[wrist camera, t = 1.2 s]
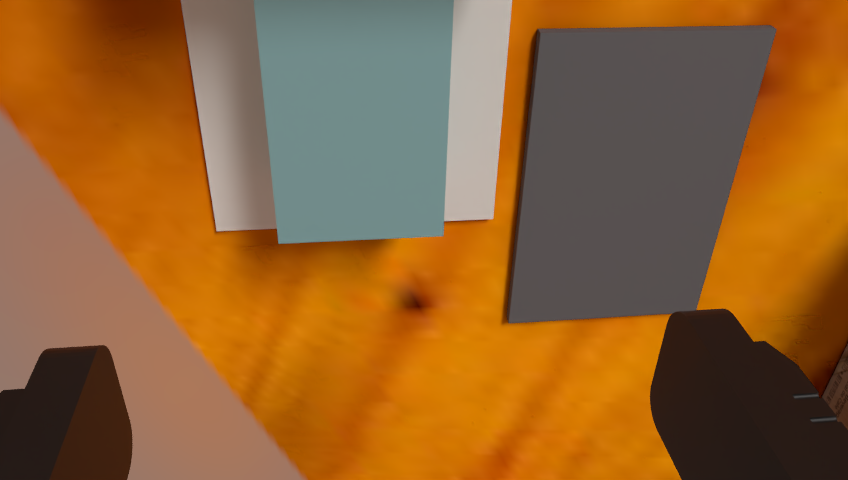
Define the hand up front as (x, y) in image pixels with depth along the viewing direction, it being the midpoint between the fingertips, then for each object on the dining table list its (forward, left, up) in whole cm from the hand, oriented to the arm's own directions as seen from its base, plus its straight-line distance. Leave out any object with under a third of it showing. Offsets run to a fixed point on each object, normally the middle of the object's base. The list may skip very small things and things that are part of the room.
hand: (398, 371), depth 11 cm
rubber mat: (+6, +10, -15) cm, 19 cm away
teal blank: (-2, 0, -15) cm, 15 cm away
